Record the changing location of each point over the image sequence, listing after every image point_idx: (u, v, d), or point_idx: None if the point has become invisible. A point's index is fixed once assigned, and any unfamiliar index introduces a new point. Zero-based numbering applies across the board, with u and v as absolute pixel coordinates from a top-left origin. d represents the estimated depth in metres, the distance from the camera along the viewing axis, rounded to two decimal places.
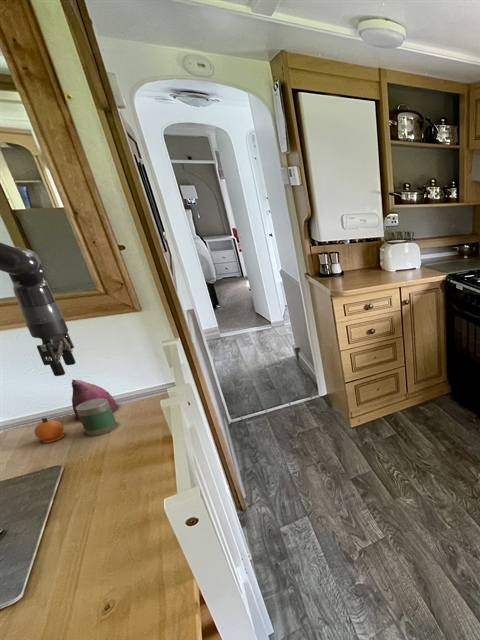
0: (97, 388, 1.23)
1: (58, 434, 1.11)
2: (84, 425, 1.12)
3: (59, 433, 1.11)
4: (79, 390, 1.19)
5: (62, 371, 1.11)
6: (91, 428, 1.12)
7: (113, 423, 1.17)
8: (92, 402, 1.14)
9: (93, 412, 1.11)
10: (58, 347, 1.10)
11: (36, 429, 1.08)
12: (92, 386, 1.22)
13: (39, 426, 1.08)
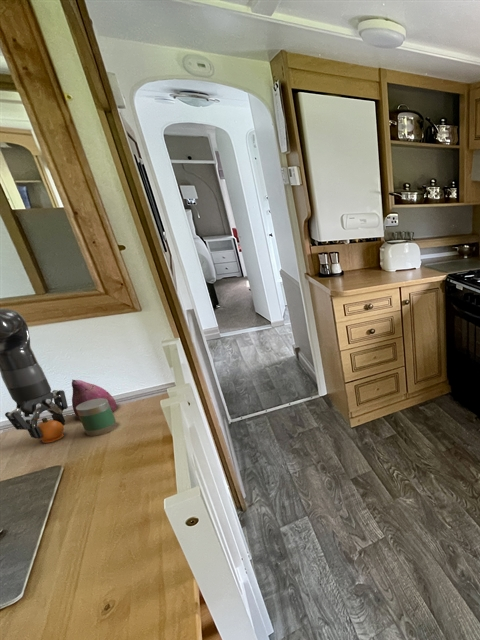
0: (97, 388, 1.23)
1: (58, 434, 1.11)
2: (84, 425, 1.12)
3: (59, 433, 1.11)
4: (79, 390, 1.19)
5: (38, 435, 1.07)
6: (91, 428, 1.12)
7: (113, 423, 1.17)
8: (92, 402, 1.14)
9: (93, 412, 1.11)
10: (33, 411, 1.05)
11: None
12: (92, 386, 1.22)
13: (39, 426, 1.08)
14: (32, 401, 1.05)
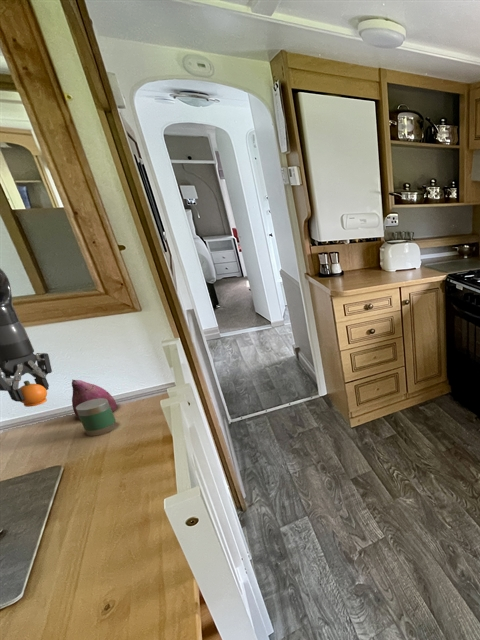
0: (97, 388, 1.23)
1: (41, 398, 1.06)
2: (84, 425, 1.12)
3: (42, 397, 1.06)
4: (79, 390, 1.19)
5: (20, 397, 1.02)
6: (91, 428, 1.12)
7: (113, 423, 1.17)
8: (92, 402, 1.14)
9: (93, 412, 1.11)
10: (14, 372, 1.01)
11: None
12: (92, 386, 1.22)
13: (21, 389, 1.04)
14: (13, 361, 1.01)
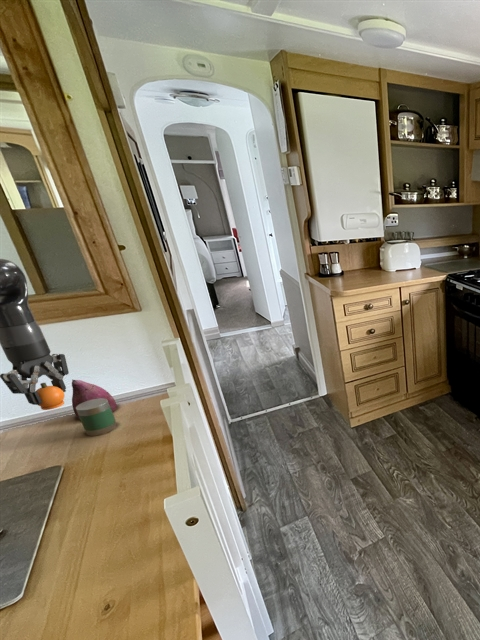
0: (97, 388, 1.23)
1: (58, 401, 1.02)
2: (84, 425, 1.12)
3: (59, 400, 1.02)
4: (79, 390, 1.19)
5: (37, 400, 0.98)
6: (91, 428, 1.12)
7: (113, 423, 1.17)
8: (92, 402, 1.14)
9: (93, 412, 1.11)
10: (31, 374, 0.96)
11: None
12: (92, 386, 1.22)
13: (38, 391, 0.99)
14: (30, 363, 0.96)
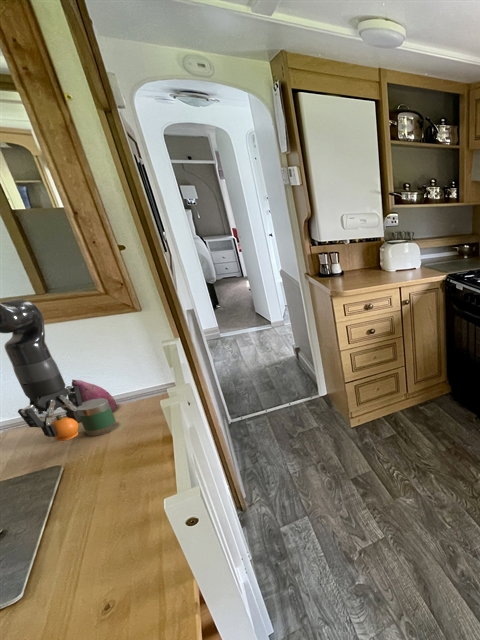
0: (97, 388, 1.23)
1: (73, 432, 1.05)
2: (84, 425, 1.12)
3: (74, 431, 1.05)
4: (79, 390, 1.19)
5: (52, 433, 1.02)
6: (91, 428, 1.12)
7: (113, 423, 1.17)
8: (92, 402, 1.14)
9: (93, 412, 1.11)
10: (47, 408, 1.00)
11: None
12: (92, 386, 1.22)
13: (53, 424, 1.03)
14: (46, 397, 1.00)
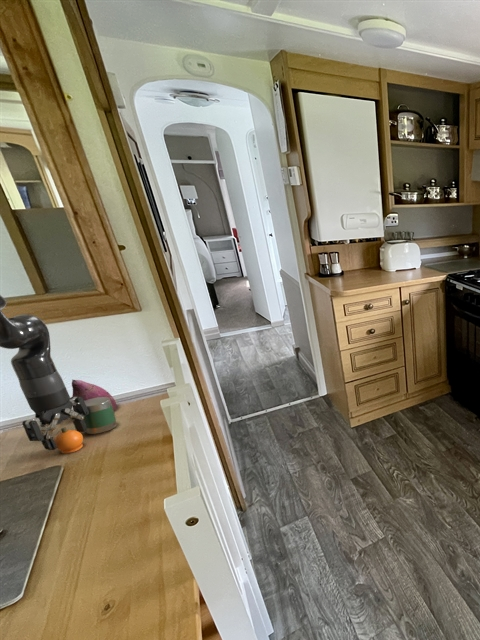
0: (97, 388, 1.23)
1: (77, 444, 1.06)
2: None
3: (78, 443, 1.07)
4: (79, 390, 1.19)
5: (53, 446, 1.02)
6: (91, 425, 1.12)
7: (113, 422, 1.17)
8: (95, 400, 1.15)
9: (95, 409, 1.12)
10: (51, 421, 1.01)
11: (55, 439, 1.04)
12: (92, 386, 1.22)
13: (58, 436, 1.04)
14: (51, 411, 1.01)
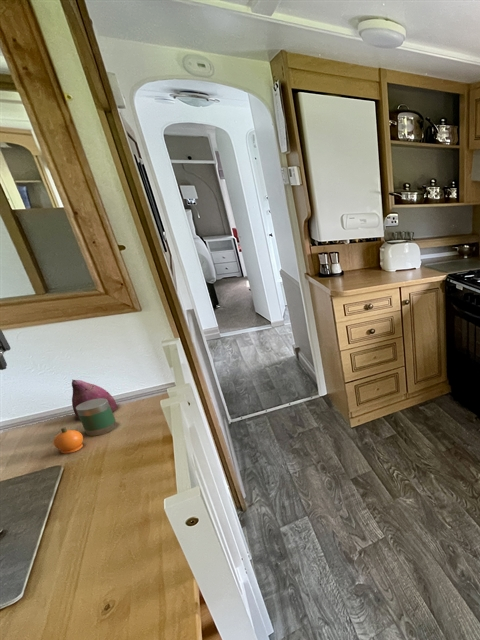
0: (97, 388, 1.23)
1: (77, 444, 1.06)
2: (84, 425, 1.12)
3: (78, 443, 1.07)
4: (79, 390, 1.19)
5: None
6: (91, 428, 1.12)
7: (113, 423, 1.17)
8: (92, 402, 1.14)
9: (93, 412, 1.11)
10: None
11: (55, 439, 1.04)
12: (92, 386, 1.22)
13: (58, 436, 1.04)
14: None
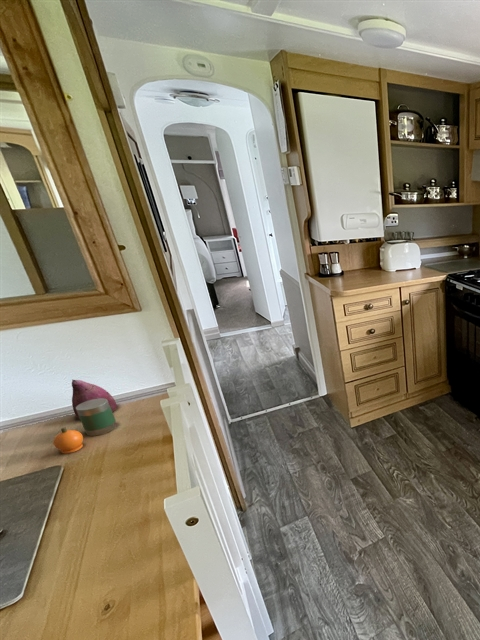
0: (97, 388, 1.23)
1: (77, 444, 1.06)
2: (84, 425, 1.12)
3: (78, 443, 1.07)
4: (79, 390, 1.19)
5: None
6: (91, 428, 1.12)
7: (113, 423, 1.17)
8: (92, 402, 1.14)
9: (93, 412, 1.11)
10: None
11: (55, 439, 1.04)
12: (92, 386, 1.22)
13: (58, 436, 1.04)
14: None
